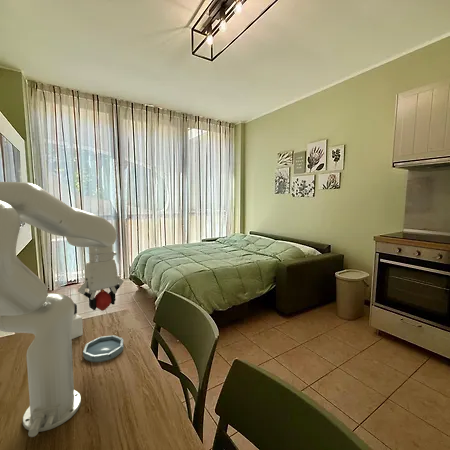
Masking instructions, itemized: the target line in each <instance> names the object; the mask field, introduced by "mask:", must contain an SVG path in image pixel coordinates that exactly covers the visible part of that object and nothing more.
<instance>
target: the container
mask: <svg viewBox="0 0 450 450" xmlns="http://www.w3.org/2000/svg"><path fill="white" fill-rule="evenodd" d="M74 306H75V311H74V317H73V323H72V336H71V338H72V340H74V339H76V338H78V337H79V338H80V336H83V334H84V330H83V329H84V328H83V326H84V325H83V317H82V316H81V315H79V314H78V305H77V304H76V303H74Z"/></svg>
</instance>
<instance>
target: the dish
mask: <svg viewBox="0 0 450 450" xmlns="http://www.w3.org/2000/svg"><path fill="white" fill-rule="evenodd" d="M124 345H125V344H124V338H123V337H120V336H117V335H113V334H112V335H104V336H99V337H97V338H95V339H93V340H90V341H89V342H87V343H86V344H85V345H84V349H83V350H82V355H83V358H84V360H85V361H87V362H90V363H102V362H107V361H109V360H112V359H114V358H117V357H118V356H119V355H120V354H121V353H122V352H123V350H124V347H125V346H124Z"/></svg>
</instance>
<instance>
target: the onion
mask: <svg viewBox="0 0 450 450" xmlns="http://www.w3.org/2000/svg"><path fill="white" fill-rule="evenodd" d="M94 298H95V299H96V309H98V310H100V312H101V311H102V312H104V311H105V310H107V309H108V308H109V307H110V305H112V304H111V296H110V294H109V292H108V291H105V289H101V290H99V292H98V293H96V294H95V296H94Z"/></svg>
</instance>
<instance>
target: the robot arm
mask: <svg viewBox="0 0 450 450" xmlns="http://www.w3.org/2000/svg"><path fill="white" fill-rule="evenodd" d="M21 222H22V223H25V224H27V225H29V226H32V227H34V228H37V229H39V230H40V231H43V232H45V233H47V234H51V235H53V236H59V237H64V238H65V239H66V242H68V243H69V244H70V245H71V246H74V247H77V248H88V259H89V261H86V263H85V271H84V283H82V285H81V286H80V288H78V290H77V292H78V293H80V294H81V295H83V296H85V297H86V298H87V299H88V306H89V308H90V309H92V311H96V310H97V308H96V299H95V296H96V294H97V291H100V290H101V289H104V290H105V289H109V292H108V293H109V294H110V296H111V304H110V305H112V306H113V305H115V304H116V300H117V299H116V293H117V292H118V290H119V289H120V288H121V285H123V284H124V280H123V279H122V278H121V277H119V275H118V268H117V263H116V259H115V258H114V257H115V256H116V255H117V251H113V248H114V247H113V245H114V244H115V243H116V241H117V237H118V236H117V235H118V234H117V230H116V229H115V227H114V225H113V224H112V223H111V222H110V221H108V220H107V219H105V218H104V217H102V216H100V215H97V214H94V213H92V212H88V211H85V210H82V209H79V208H75V207H73V206H70V205H68V204H67V203H65V202H63V201H62V200H61V199H59V198H57V197H56V196H55V195H53V194H51V193H50V192H48V191H47V190H46V189H43V188H42V187H41V186H40V185H39V186H38V185H37V184H35V183H32V182H26V181H25V182H24V181H23V182H22V181H0V332H4V333H16V334H18V333H19V334H21V333H23V334H32V335H34V338H33V340H32V342H31V343H30V345H29V346H28V348H27V350H26V366H27V367H26V368H27V384H28V394H29V396H28V397H29V399H28V400H29V406H28V408H27V409H26V410H25V412H24V414H23V416H22V425H23V428H24V429H26V431H28V433H27V434H28V435H27V436H28V437H30V438H34V437H36V436H37V435H38V434H39V432H46V431H50V430H52V429H55V428H57V427H59V426H61V425H62V424H65V422H67V421H69V420H70V419H71V418H72V417H73V416H75V414H76V413H77V412H78V410H79V408H80V407H81V402H82V398H81V397H82V396H81V394H80V392H78V391H77V390H75V389H74V388H75V387H74V367H73V366H74V364H73V348H72V347H73V346H72V344H73V343H72V340H73V339H72V338H71V336H72V323H73V317H74V311H75V306H74V301H73V299H72V298H71V297H70V296H68V295H65V294H61V293H56V292H55V293H53V292H48V287H47V285H46V283H44V282H43V280H42V279H41V278H40V277H39V276H38V275H36V274H35V273H34V272H33V271H32V270H31V269H30V268H29V267H28V266H26V265H25V264H24V263H23V261H21V259H19V257H18V256H17V244H18V237H19V234H20V229H21ZM86 289H87V290H88V292H87V291H86Z"/></svg>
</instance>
